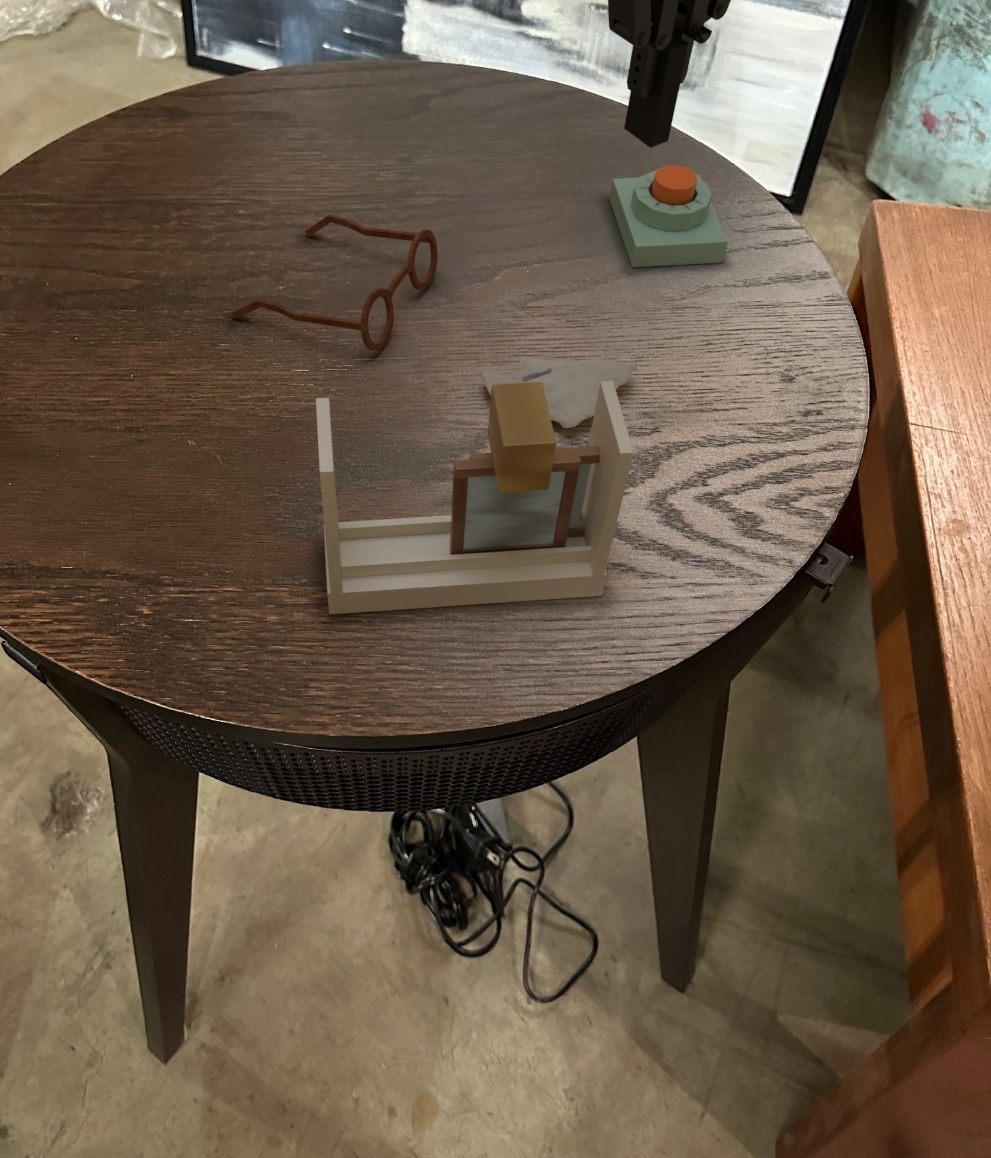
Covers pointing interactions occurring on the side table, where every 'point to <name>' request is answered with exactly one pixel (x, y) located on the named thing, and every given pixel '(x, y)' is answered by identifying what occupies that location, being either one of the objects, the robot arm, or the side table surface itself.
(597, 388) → the decorative stone
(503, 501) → the pane
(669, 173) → the button
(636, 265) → the button box
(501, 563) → the window frame
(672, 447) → the side table surface
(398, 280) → the glasses
